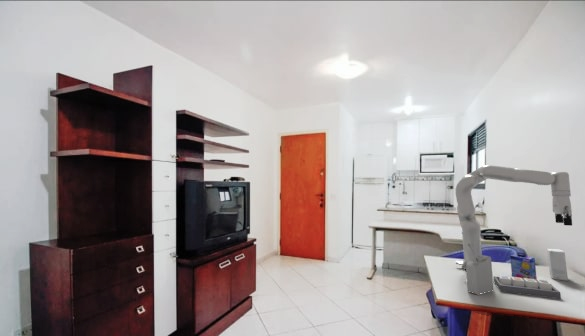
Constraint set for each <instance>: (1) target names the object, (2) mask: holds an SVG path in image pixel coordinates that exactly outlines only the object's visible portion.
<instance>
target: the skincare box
mask: <svg viewBox="0 0 585 336" xmlns="http://www.w3.org/2000/svg"><path fill="white" fill-rule="evenodd" d="M546 250H547V259H548V260H547V261H548V268H549V275H550V277H551V278H552V279H553V280H559V281H566V282H568V281H569V277H568V269H567V262H566V252H565V251H564V250H562V249H558V248H546Z"/></svg>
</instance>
